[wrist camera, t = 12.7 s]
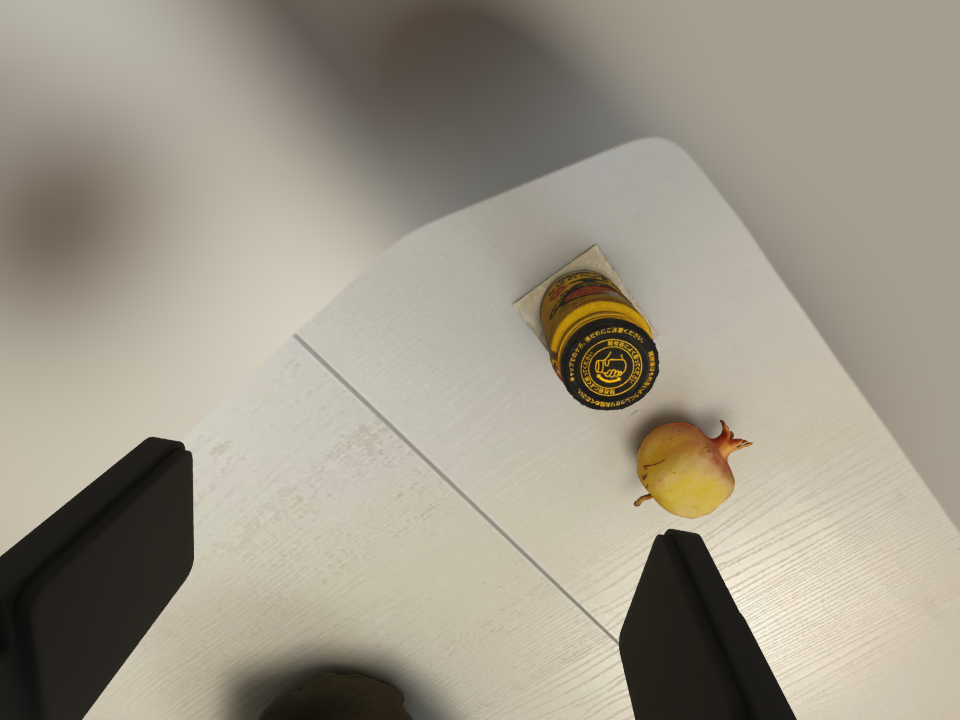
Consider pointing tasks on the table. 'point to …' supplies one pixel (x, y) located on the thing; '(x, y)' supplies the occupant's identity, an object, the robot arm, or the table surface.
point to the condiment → (593, 333)
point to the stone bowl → (339, 700)
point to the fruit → (687, 468)
